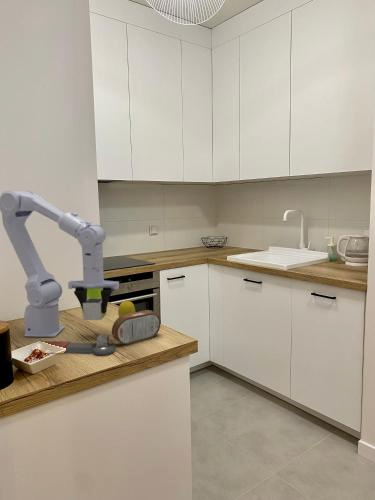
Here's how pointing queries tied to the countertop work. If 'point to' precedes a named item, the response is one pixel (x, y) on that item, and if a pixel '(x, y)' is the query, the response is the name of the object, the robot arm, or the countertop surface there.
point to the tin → (136, 327)
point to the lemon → (126, 308)
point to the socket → (93, 309)
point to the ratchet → (88, 346)
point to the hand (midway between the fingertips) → (94, 312)
